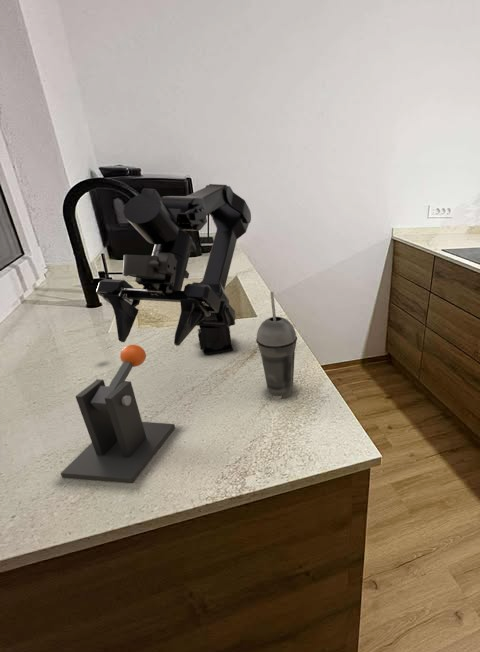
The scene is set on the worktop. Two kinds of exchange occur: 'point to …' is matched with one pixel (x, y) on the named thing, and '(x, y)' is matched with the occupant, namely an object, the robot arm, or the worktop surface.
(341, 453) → the worktop surface
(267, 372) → the beverage cup
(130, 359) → the lever
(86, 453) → the switch bracket
